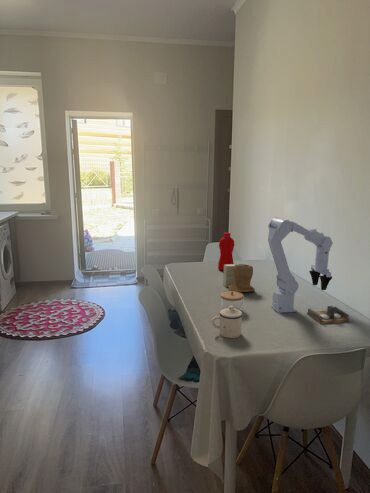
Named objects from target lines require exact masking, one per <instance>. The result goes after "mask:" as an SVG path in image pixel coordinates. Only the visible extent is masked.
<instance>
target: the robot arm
mask: <svg viewBox="0 0 370 493" xmlns="http://www.w3.org/2000/svg"><path fill="white" fill-rule="evenodd" d="M267 228H268V237H267V241H268V242H267V243H268V246H269V248H270V251H271V255H272V258H273V261H274V265H275V268H276V270H277V274H276V286H277V287H278V291H275V292H273V294H272V306H271V308H272V309H274V310H275V311H276V312H277V313H279V314H283V313H294V312H298V310H297V309H296V308H294V306H295V294H296V293H297V291H298V289H299V283H298V281H297V280H296V278H295V276H294V275H293V274H292V273H291V271H290V267H289V263H288V261H287V256H286V255H285V254H286V253H285V250H284V248H283V244H282V241H283V240H284V239H285V238H286V237H287V236H288V235H289V234H290V233H293V232H295V233H297V234H299V235H301V236H303V239H305V240H306V241H308V242H310V243H312V244H314V246H316V248H315V249H316V250H315V261H314V262H315V263H314V264H313V265H311V266H310V270H309V271H308V273H309V275H310V277H311V281H312V285H313V286H318V284H319V280H320V290H321V291H326V290H327V289H328V285H329V284H330V281H331V280H332V279H333V276H332V272H330V268H328V265H329V255H330V251H331V248H332V246H333V241H332V238H331V237H330V236H327V235H325V234H324V233H323V232H319V231H317V229H316V228H308V229H307V228H306V227H303V226H302V225H300V224H298V222H297V223H296V222H294V221H290V220H289V219H284V218H279V217H274V218H272V219H271V220H270V222H269V223H268V225H267Z"/></svg>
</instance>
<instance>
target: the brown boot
mask: <svg viewBox="0 0 370 493" xmlns="http://www.w3.org/2000/svg"><path fill="white" fill-rule="evenodd" d="M234 265H235V266H234V277H235V283H234V284H233V285H229V287H228V291H234V292H239V293H249V292H250V293H251V292H252V293H253V292H255V291H256V288H255V287H254V286H251V280H252V278H253V276H254V267H253V266H252V265H251V264H244V263H236V264H234Z"/></svg>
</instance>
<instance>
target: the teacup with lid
mask: <svg viewBox="0 0 370 493" xmlns="http://www.w3.org/2000/svg"><path fill="white" fill-rule="evenodd" d="M242 318H243V312H242V311H241V309H239V310H237V309H235V308H234V307H233V306H229V308H226V309H223V308H222V309H221V310H220V312H219V315H216V316H213V317H212V319H211V323H212V326H213V327H214V328H215V329H218V330H219V334H220V335H221V337H224V338H226V339H236V338H239V337H241V335H242V321H243V319H242ZM217 319H219V325H216V323H215V320H217Z"/></svg>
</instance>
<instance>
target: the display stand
mask: <svg viewBox="0 0 370 493" xmlns="http://www.w3.org/2000/svg"><path fill="white" fill-rule="evenodd" d="M333 307H334V308H335V311H336V312H337V313H339V314H340V315H341V318H339V319H337V318H329V319H322V316H320V315H321V314H325V315H327V310H317V311H315V310H313V309H311V308H307V312H306V315H307V316H309V318H311V319H312V320H314V321H316V322H317V323H318V324H320V325H323V324H324V325H325V324H336V323H337V324H338V323H339V324H340V323H349V322H350V314H348V313H346V312H345V311H343V310H341V309H340V308H338V307H337V306H333ZM314 311H315V312H314ZM348 321H349V322H348Z"/></svg>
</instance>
